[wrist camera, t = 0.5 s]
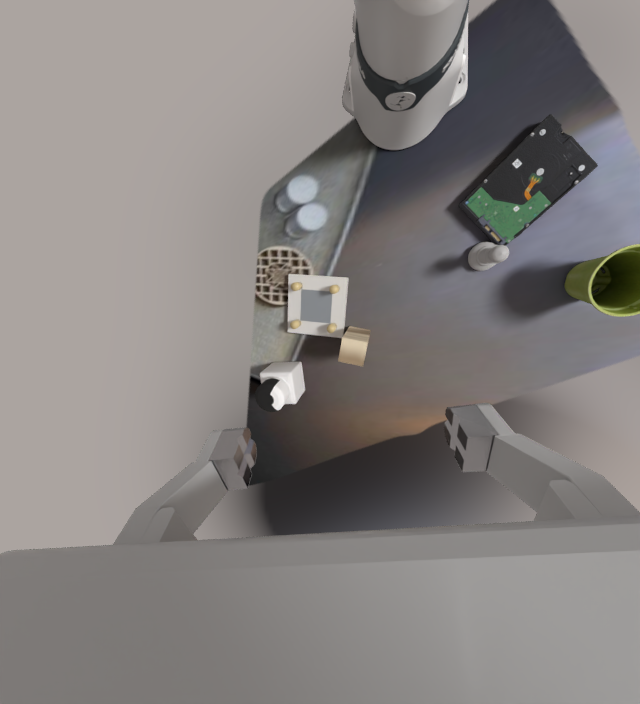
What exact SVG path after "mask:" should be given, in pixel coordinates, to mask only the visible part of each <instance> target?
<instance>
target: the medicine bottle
mask: <svg viewBox="0 0 640 704" xmlns="http://www.w3.org/2000/svg"><path fill="white" fill-rule="evenodd" d="M260 379H261V385H260V386H258V388H257V389H256V391H255V399H256V402H257V404H258V405H259V406H260V407H261V408H262V409H264V410H266V411H269V412H275V411H278V410H280V409H281V408H282V407H283V405H284V404H296V403H297V401H298V400H299V398H300V397H301V395H302V394H303V392H304V391H305V385H304V378H303V370H302V363H301V362H273V363H272V364H270V365H269V366H268V367H267V368H265V369H264V370H263V371H262V372H261V373H260Z"/></svg>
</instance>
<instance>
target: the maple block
mask: <svg viewBox="0 0 640 704" xmlns="http://www.w3.org/2000/svg"><path fill="white" fill-rule="evenodd" d="M370 331H371V330H367V329H362V328H357V327H351V326H349V328H348V329H347V331H346V332H345V334H344V336H343V337H342V342H341V348H340V354H339V359H338V361H339V362H344V363H349V364H354V365H358V366H363V364H364V359H365V355H366V350H367V345H368V340H369V336H370Z"/></svg>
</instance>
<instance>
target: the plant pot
mask: <svg viewBox="0 0 640 704" xmlns="http://www.w3.org/2000/svg"><path fill="white" fill-rule="evenodd" d="M600 267H602V268H603V269H604V270H605V273H603V272H602V271H601V270H600V269H599V268H600ZM564 286H565V290H566V292H567V293H568V294H569V295H570V296H572V297H574V298H576V299H579V300H582V301H585V302H587V303H590V304H592V305H593V306H594V307H595V308H596V309H597V310H599V311H600V312H602V313H605V314H607V315H611V316H619V317H624V316H633V315H637V314H640V244H635V245H630V246H627V247H624V248H621V249H619V250H617V251H615V252H613V253H611V254H610V255H608V256H605V257H601V258H597V259H593V260H589V261H585V262H582V263H580V264H578V265H576V266H575V267H574V268H572V269H571V270H570V272H569V273H568V274H567V277H566V281H565V284H564ZM599 287H600V289H599V290H598V291H597V292H596V293H593V294H592V293H591V292H593V291H595V290H596V289H598V288H599Z"/></svg>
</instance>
